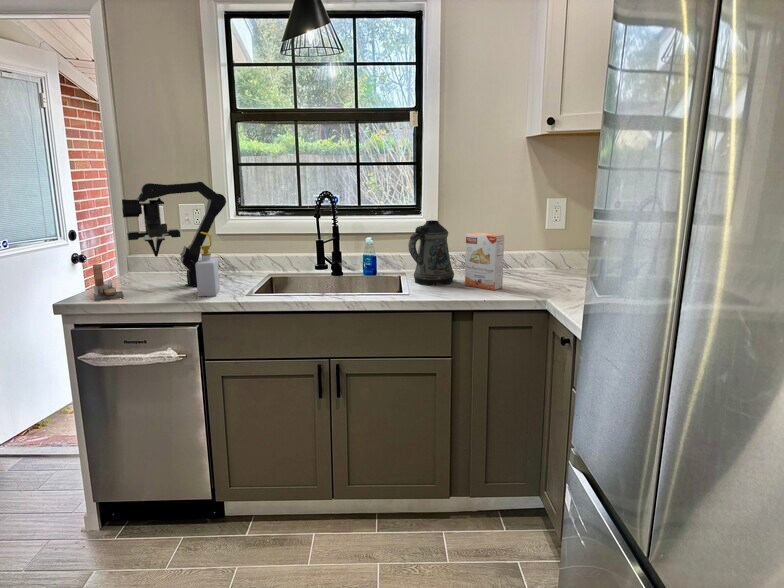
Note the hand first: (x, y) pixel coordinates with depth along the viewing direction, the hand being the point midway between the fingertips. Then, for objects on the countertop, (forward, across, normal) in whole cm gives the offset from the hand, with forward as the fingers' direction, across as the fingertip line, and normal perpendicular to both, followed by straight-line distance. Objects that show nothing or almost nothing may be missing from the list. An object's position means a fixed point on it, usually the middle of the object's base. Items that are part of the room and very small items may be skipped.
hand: (156, 256), depth 223 cm
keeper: (+12, -20, -6) cm, 24 cm away
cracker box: (+13, +113, -60) cm, 128 cm away
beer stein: (+13, +100, -42) cm, 109 cm away
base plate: (+13, -18, -7) cm, 23 cm away
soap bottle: (+13, +16, -18) cm, 28 cm away
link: (+11, -19, -4) cm, 23 cm away
